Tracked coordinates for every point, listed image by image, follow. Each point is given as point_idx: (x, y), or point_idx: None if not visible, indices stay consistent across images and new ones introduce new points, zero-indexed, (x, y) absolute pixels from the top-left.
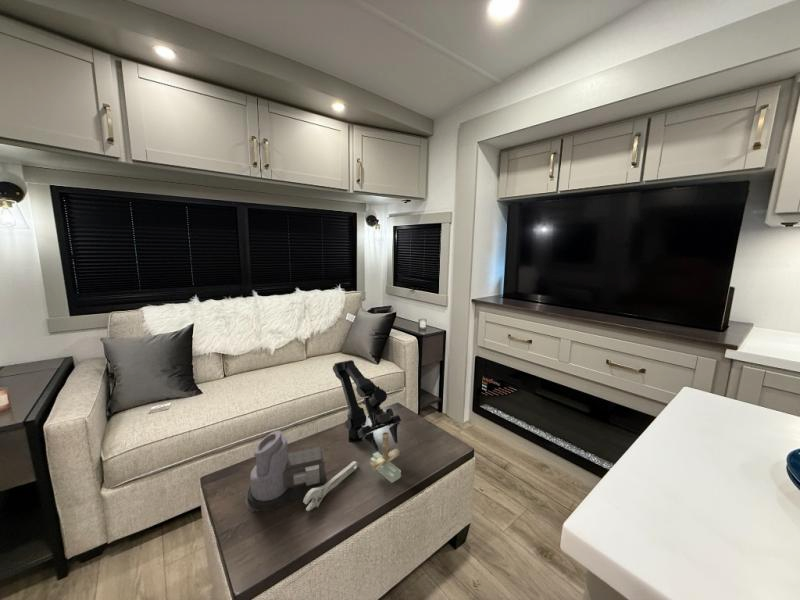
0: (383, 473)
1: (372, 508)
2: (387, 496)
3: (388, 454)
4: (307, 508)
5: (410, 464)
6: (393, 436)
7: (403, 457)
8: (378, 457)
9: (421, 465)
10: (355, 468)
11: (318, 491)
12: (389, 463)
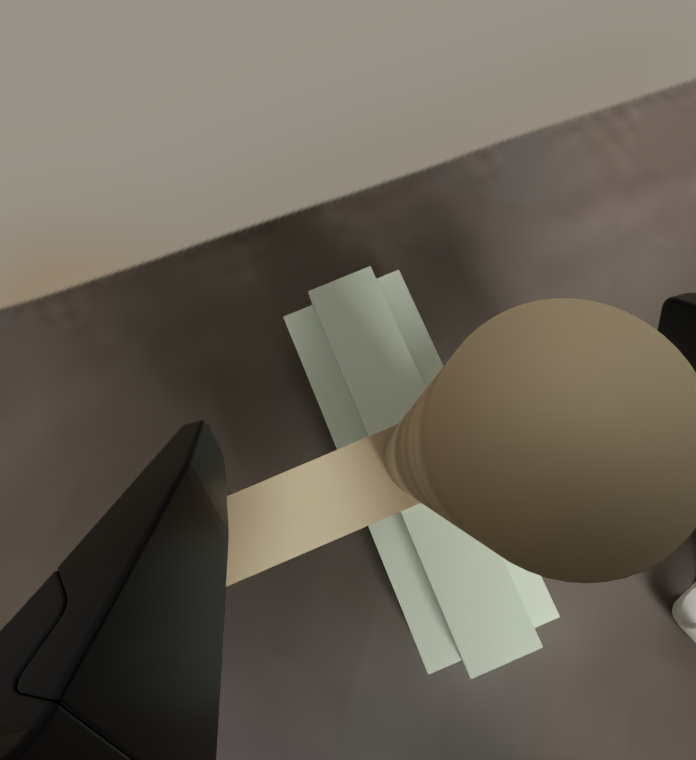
0: None
1: (604, 117)
2: (467, 183)
3: (368, 490)
4: None
5: (145, 461)
6: (202, 593)
7: None
8: (482, 552)
9: (56, 414)
10: (693, 590)
11: None
12: (380, 404)
